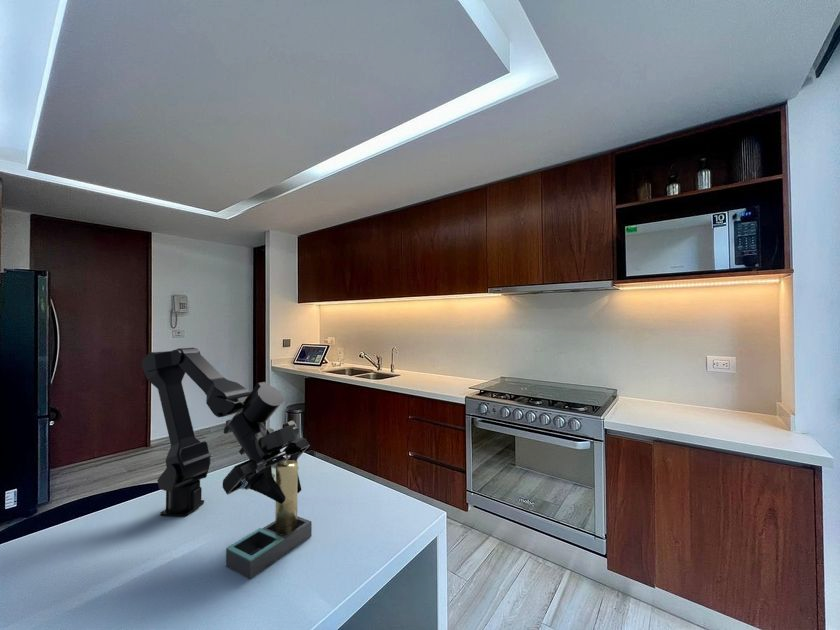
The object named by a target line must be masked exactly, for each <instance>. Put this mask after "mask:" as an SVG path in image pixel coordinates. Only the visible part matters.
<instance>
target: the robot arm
mask: <svg viewBox="0 0 840 630" xmlns="http://www.w3.org/2000/svg"><path fill="white" fill-rule="evenodd" d="M200 351H201V350H200V349H198V348H197V347H179V348H176V349H173V350H168V351H167V350H166V351H152V352H151V351H150V352H148V353H147V354H146V355H145V357H144V358H142V360H141V368H142V371H143V373H144V375H145V377H146V380H147V382H149V383H151V384H152V385H153V387H155V388H156V389H157V391H158V395H159V400H160V405H161V409H162V413H163V416H164V421H165V426H166V429H167V434H168V439H169V443H170V447H169V450H168V452H167V455H166V457H165V466H166V468H165V469H164V471H163V472H162V473H161V474H160V476H159V477H157V485H158V489H159V490H162V491H165V509H163V510H162V511H161V512H160V513H159V514H160V516H163V517H164V516H170V517H186V516H188V515H189V514H191V513H193V512H194V510H197V509H198V508H199V507H200V506H202V505H203V504H204V503H205V500H204V499H202V487H201V480H203V479H205V478H207V477H208V472H209V469H210V467H211V456H212V455H211V454H210V451H209V446H208V442H207V441H205V440H204V441H201V440H199V439H198V438H197V437H196V435H195V431H194V427H193V424H192V419H191V415H190V410H189V408H188V407H189V406H188V403H187V398H186V395H185V391H184V386H183V383H182V382H183V379H184V377H185V375H187V376H188V377H189V378H190V379H191V380H192V381H193V382H194V383H195V384H196V385H197V386H198V387H199V388H200V389H201V391H202V392H203V393H204V394H205V395H206V397H205V398H206V400H205V403H206V405H207V407H208V408H209V409H210V411H211V413H212V414H213V415H214V416H215V417H216V418H224V417H228V416H231V415H233V416H232V417H231V419H229V420H228V419H227V420H226V421H225V426H224V428H223V434H229V433H232V434H233V435H234V437H235V439H236V440H237V441H238V442H237V443H239V445H240V447H241V448H240V449H239V450H238V452H239V454H240V455H241V456H242V455H245V456H247V458H248V459H247V460H246V461H244V462H240V463H239V464H237V465H235V466H233V468H232V469H231V470H230V471H229V472H228V474H227V475H226V476H225V477H224V478H223V480H222V488H223V491H224V492H225V494H226V495H230V494H232V493H234V492H236V491H238V490H240V489H241V488H242V485H243V481H245V480H246V483H247V484H246V486H244V490H245V491H246V490H252V491H255V492H257V493H259V494H261V495H264V496H266V497H267V498H270V499H271V500H273V501H274V502H276V501H277V502H279V503H281V504H282V503H283V502H284V501H285V498H284V496H283V493H282V492H281V490H280V488H279V487H278V485H277V483H276V482H275V480H274V478H273V477H272V467H271V466H273V465H275V464H278V463H279V462H282V461H287V460H295V461H297V462H298V459H299V458H300V457H301V456H302V455H303V453H305V451H306V450H307V449H308V448H309V447H310V446H311V445H310V443H309V441H308V440H307V438H304V437H299V438H297V436H296V435H298V434H299V433H300V428H299V427H298V425H297V423H296V422H295V421H294V420H290V421H287V422H286V423H283V424H282V428H280V429H277V430H274V429H273V428H272V427H270V428H268V429H267V428H266V426H265V424H264V423H265V422H267V421H269V420H270V418H271V417H272V416H273V414H274V413H275V412H276V411H277V409H279V407H280V406H281V405H282V404H283V402H284V395H283V393H282V391H281V390H279V389H278V388H276V387H274V386H272V385H268V384H267V382H266V381H261V382H258V383H256V384H255V386H254V387H253V389H252V391H249V390H248V389H247V388H246V387H245V386H243V385H241V384H240V383H239V382H236V381H233V380H229V379H227V378H226V377H224V376H223V375H222V374H221V373H220V372H219V371H218V370H217V369H216V368H215V366H213V365H212V363H210V362H209V361H208V360H207V359H206V358H205V357H204V356H203V355H201V352H200ZM287 442H289V443H288V444H287ZM286 445H287V446H286ZM281 450H282V451H281ZM273 460H274V461H273ZM244 479H245V480H244ZM301 491H302V484H301V481H300V476H299V475H298V490H297V494H299V493H300V492H301Z"/></svg>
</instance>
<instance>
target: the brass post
mask: <svg viewBox="0 0 840 630" xmlns="http://www.w3.org/2000/svg"><path fill="white" fill-rule="evenodd" d="M298 464H299V463H298V460H297V461H295V460H287V461H282V462H279V463H278V464H277V465H276V483H277V485H278V487H279V488H280V490H281V492H282V493H283V496H284V498H285V501H284V502H283V503H282V504H281V503H279V502H277V501H275V507H274V508H275V509H274V511H275V512H274V513H275V516H274V517H275V519H274V521H275V532H276V533H278V534H280V535H287V534H289V533H290V532H292V531H293V530H295V529H296V528H297V516H298V493H297V490H298V476H299V470H298V467H299V465H298Z"/></svg>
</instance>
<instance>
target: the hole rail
mask: <svg viewBox="0 0 840 630" xmlns="http://www.w3.org/2000/svg"><path fill="white" fill-rule="evenodd" d="M312 527H313V526H312V521H311V520H309V519H306V518H303V517H300V516H299V515H297V528H296V529H295V530H293V531H292V532H290V533H288V534H285V535H284V534H278V533H276V532H275V520H273V521H272V522H270V523H269V524H267V525H265V526H263V527H262V528H261V527H260V528H258V529H256V530H254V531H253V532H251V533H249V534H247V535H246V536H244V537H242V538H241V539H238V540H237V541H235V542H233V543H232V544H230V545H228V546H227V547H226V548H225V567H226V568H229V569H230V570H232V571H234V572H236V573H238V574H239V575H241V576H243V577H245V578H247V579H249V580H252V579H254V578H255V577H256V576H257V575H259V574H261V573H262V572H263V571H264V570H266V569H267V568H269V567H270V566H272V565H273V564H274V563H275V562H277V561H279V560H280V559H282V558H283V557H284V556H286V555H287V554H288V553H290V552H291V551H293V550H294V549H295V548H297V547H298V546H299V545H301V544H303V543H304V542H305V541H307V540H308V539H310V538H311V537H312ZM259 549H260V550H259ZM257 550H259V551H257ZM256 551H257V552H256ZM254 552H256V553H254ZM252 553H254V554H252ZM251 554H252V555H251Z"/></svg>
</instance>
